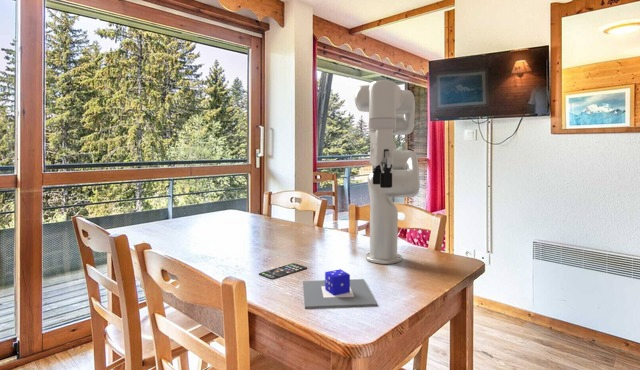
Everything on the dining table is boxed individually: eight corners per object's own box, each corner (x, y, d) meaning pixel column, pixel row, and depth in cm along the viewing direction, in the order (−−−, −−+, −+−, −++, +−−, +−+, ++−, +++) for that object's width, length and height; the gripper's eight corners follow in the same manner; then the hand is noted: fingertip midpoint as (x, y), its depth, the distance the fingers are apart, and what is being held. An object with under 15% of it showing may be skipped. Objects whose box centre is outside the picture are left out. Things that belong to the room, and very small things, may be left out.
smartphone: (257, 273, 119) (293, 262, 129) (257, 275, 119) (293, 264, 130) (271, 279, 114) (308, 267, 124) (271, 281, 114) (308, 269, 124)
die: (333, 295, 100) (333, 277, 99) (324, 289, 104) (324, 271, 104) (350, 292, 102) (350, 274, 101) (340, 286, 106) (340, 269, 106)
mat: (303, 282, 111) (303, 280, 111) (363, 280, 112) (363, 278, 112) (305, 308, 93) (304, 306, 93) (377, 305, 95) (377, 303, 94)
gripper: (363, 127, 116) (363, 183, 117) (375, 123, 98) (375, 189, 100) (387, 127, 116) (387, 182, 118) (404, 123, 99) (403, 188, 101)
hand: (381, 185), depth 109 cm, fingers open, 9 cm apart
